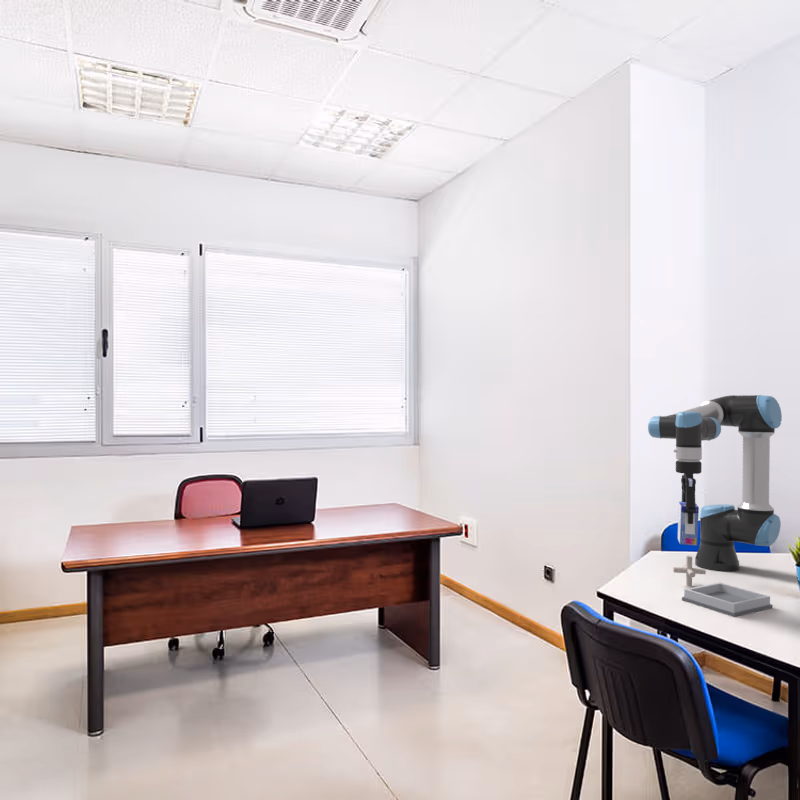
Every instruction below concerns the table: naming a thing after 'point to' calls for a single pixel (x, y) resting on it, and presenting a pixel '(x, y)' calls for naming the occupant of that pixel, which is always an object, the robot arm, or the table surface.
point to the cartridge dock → (727, 599)
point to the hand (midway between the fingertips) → (688, 530)
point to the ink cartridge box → (682, 537)
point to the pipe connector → (689, 570)
